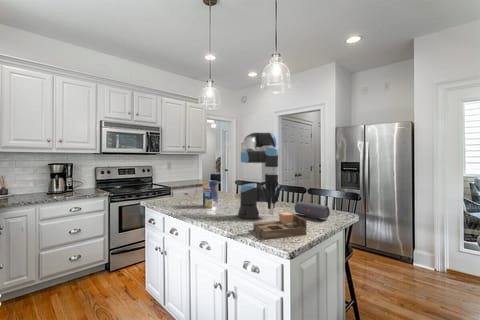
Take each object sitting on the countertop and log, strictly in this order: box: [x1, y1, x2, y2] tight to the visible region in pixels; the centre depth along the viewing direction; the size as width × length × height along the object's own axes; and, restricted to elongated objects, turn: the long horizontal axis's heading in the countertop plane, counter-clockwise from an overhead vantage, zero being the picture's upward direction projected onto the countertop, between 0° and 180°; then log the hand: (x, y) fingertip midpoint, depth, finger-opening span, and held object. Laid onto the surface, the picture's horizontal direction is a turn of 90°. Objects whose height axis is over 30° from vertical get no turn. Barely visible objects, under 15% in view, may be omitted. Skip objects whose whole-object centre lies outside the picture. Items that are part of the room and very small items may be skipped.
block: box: [278, 211, 294, 224], centre depth 141 cm, size 6×6×5 cm
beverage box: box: [202, 179, 219, 209], centre depth 201 cm, size 7×11×22 cm, turn 50°
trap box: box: [252, 212, 307, 240], centre depth 135 cm, size 16×25×8 cm, turn 108°
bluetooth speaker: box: [294, 201, 330, 220], centre depth 167 cm, size 23×9×10 cm, turn 45°
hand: (271, 214), depth 138 cm, fingers closed
